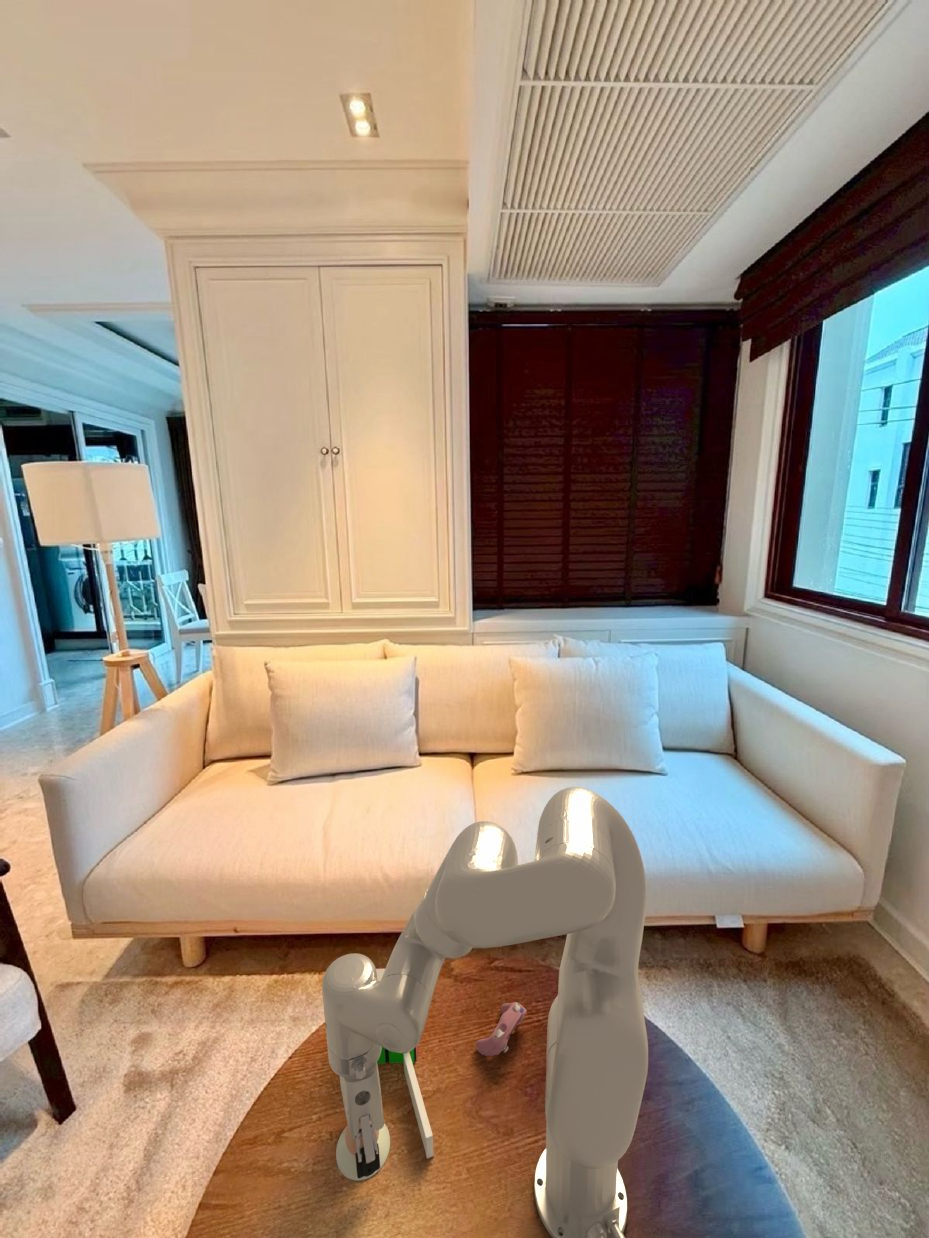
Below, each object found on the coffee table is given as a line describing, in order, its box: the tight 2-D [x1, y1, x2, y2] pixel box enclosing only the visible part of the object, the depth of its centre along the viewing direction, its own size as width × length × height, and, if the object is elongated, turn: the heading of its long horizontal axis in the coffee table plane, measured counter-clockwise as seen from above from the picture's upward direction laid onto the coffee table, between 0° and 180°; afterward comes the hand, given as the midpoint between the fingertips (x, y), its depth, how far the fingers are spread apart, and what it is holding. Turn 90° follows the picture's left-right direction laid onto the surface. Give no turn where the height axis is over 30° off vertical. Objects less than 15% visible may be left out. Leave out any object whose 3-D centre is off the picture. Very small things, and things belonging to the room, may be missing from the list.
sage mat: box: [335, 1122, 391, 1182], centre depth 79 cm, size 8×8×1 cm
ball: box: [345, 1122, 379, 1156], centre depth 78 cm, size 5×5×5 cm
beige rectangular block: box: [403, 1052, 435, 1159], centre depth 83 cm, size 13×1×4 cm, turn 21°
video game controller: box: [475, 1001, 527, 1057], centre depth 94 cm, size 10×5×7 cm, turn 144°
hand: (362, 1133), depth 78 cm, fingers open, 9 cm apart
